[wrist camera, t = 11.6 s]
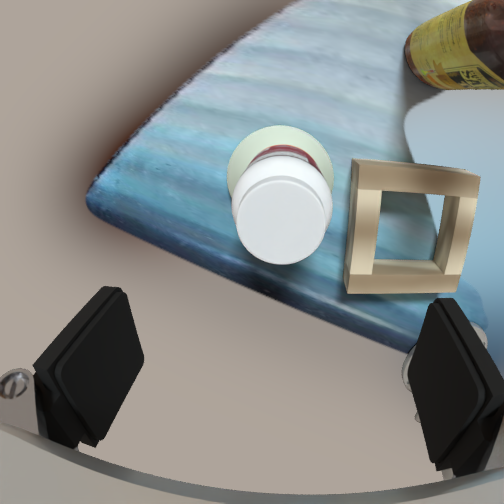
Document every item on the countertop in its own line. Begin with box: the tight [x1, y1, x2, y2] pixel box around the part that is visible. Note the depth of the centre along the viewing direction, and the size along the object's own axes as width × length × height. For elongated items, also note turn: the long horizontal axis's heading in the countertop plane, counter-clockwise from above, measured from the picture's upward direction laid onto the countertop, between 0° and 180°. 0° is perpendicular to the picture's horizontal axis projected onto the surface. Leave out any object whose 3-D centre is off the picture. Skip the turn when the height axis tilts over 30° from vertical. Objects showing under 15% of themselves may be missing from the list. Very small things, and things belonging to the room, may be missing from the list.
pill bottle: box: [232, 144, 333, 264], centre depth 21 cm, size 6×6×11 cm
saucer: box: [227, 125, 334, 198], centre depth 27 cm, size 9×9×1 cm
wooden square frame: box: [343, 158, 480, 294], centre depth 26 cm, size 12×12×3 cm
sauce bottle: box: [405, 0, 504, 90], centre depth 12 cm, size 7×6×20 cm
